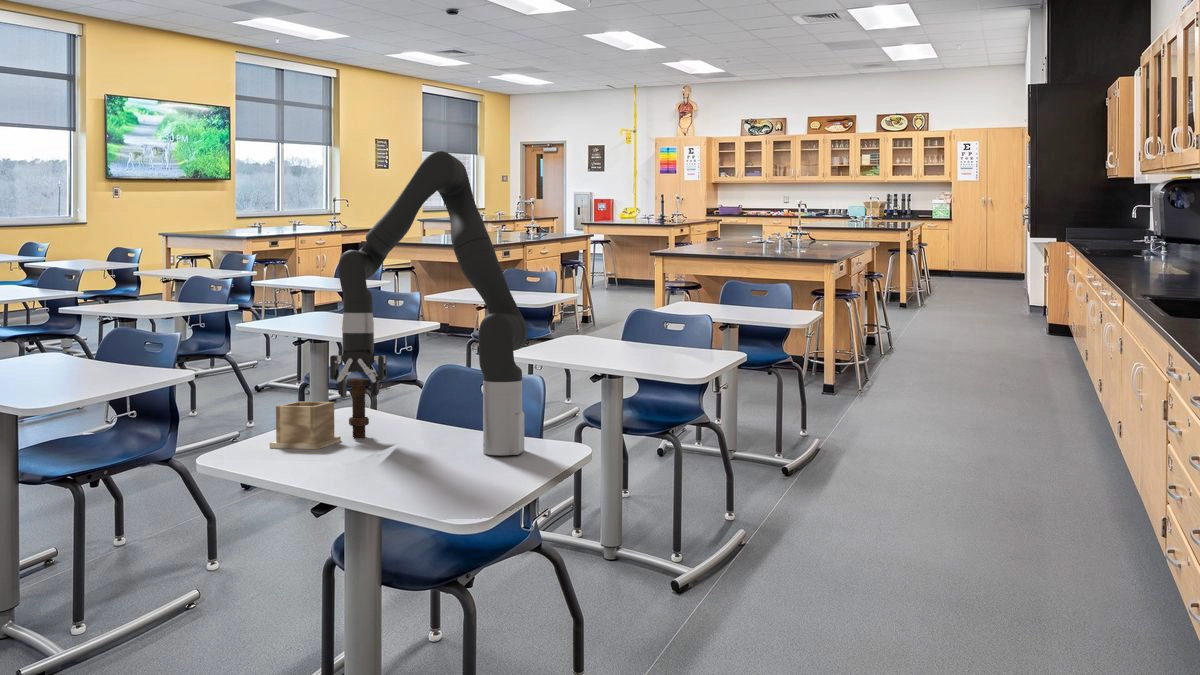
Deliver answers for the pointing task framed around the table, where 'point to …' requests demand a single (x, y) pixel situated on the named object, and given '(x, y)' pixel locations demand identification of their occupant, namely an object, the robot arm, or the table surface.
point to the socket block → (305, 425)
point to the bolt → (358, 406)
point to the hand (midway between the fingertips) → (358, 397)
